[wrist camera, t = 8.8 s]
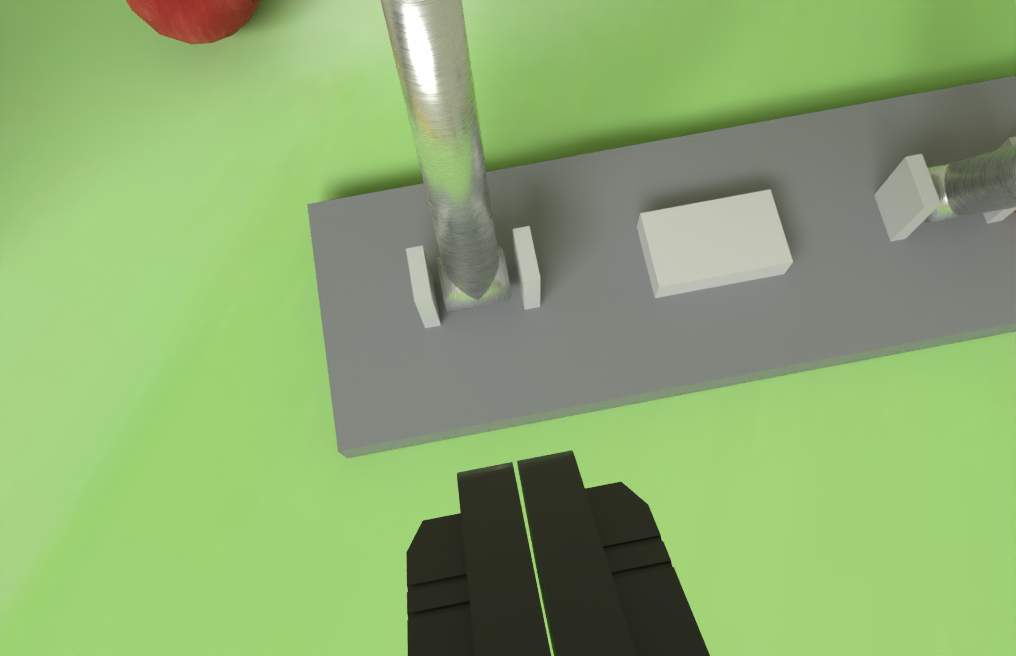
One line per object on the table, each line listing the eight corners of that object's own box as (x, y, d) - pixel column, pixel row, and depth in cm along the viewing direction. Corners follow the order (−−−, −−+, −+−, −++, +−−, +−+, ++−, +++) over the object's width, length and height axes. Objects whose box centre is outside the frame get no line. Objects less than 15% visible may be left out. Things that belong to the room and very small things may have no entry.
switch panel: (1114, 312, 33) (1200, 269, 29) (347, 458, 32) (318, 435, 28) (1020, 92, 36) (1084, 23, 32) (316, 220, 35) (286, 167, 31)
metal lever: (533, 324, 31) (484, -147, 17) (435, 343, 31) (307, -116, 17) (516, 249, 33) (460, -227, 19) (424, 266, 33) (301, -199, 19)
